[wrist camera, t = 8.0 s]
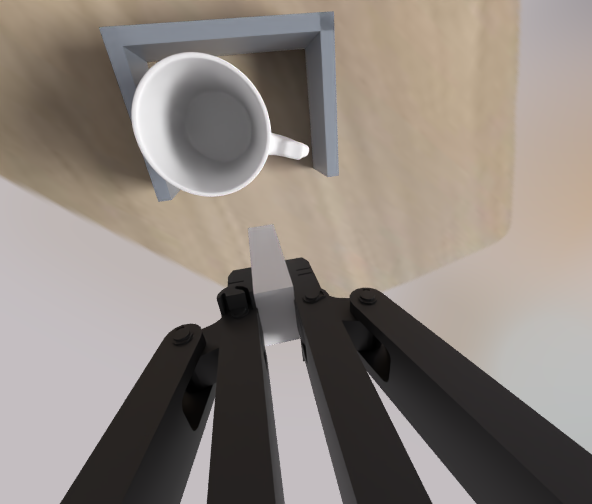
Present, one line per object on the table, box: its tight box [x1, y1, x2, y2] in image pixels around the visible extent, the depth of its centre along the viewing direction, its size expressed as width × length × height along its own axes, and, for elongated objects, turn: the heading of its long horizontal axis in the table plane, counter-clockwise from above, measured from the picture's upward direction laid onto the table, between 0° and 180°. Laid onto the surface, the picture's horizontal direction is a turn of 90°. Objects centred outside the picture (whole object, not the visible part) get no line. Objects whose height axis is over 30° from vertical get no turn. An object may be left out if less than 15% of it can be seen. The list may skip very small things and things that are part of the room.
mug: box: [131, 52, 309, 197], centre depth 20 cm, size 10×7×12 cm, turn 77°
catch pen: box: [99, 11, 339, 202], centre depth 22 cm, size 11×15×5 cm
